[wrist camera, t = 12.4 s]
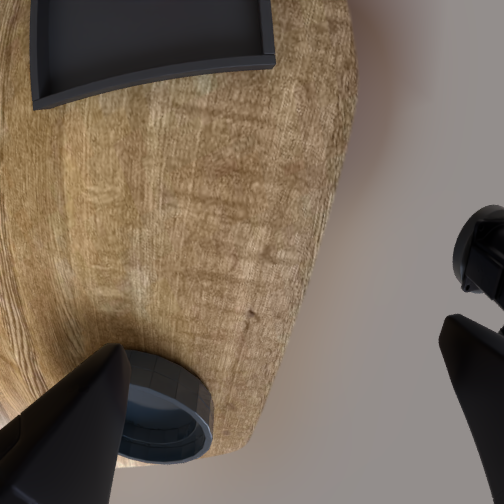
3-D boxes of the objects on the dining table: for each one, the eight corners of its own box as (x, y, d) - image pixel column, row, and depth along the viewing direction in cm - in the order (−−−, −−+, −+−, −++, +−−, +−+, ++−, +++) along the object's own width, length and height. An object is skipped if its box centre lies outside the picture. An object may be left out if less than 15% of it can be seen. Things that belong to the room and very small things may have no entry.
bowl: (200, 344, 24) (195, 382, 21) (222, 434, 30) (222, 466, 26) (59, 344, 24) (41, 374, 21) (108, 429, 30) (100, 457, 26)
